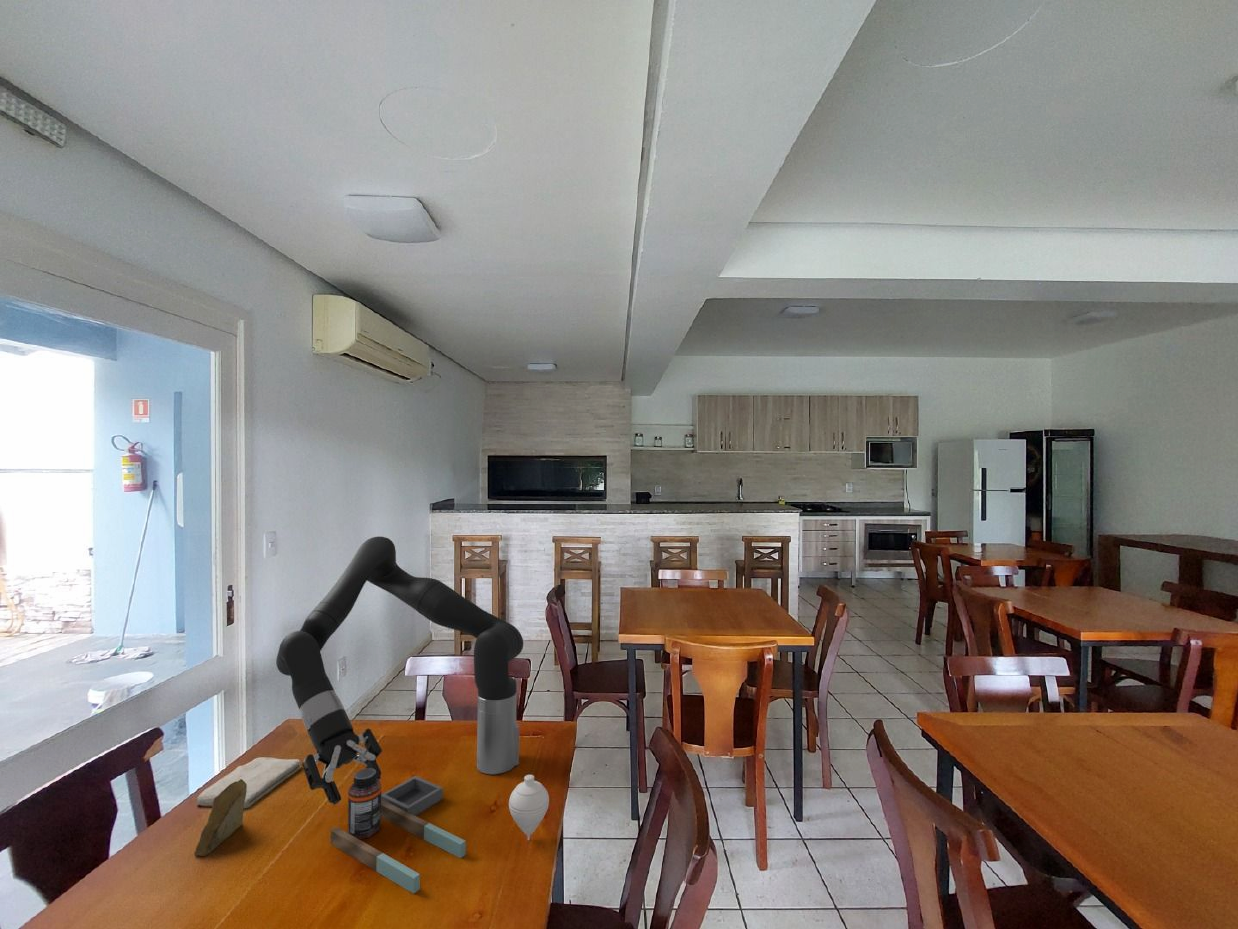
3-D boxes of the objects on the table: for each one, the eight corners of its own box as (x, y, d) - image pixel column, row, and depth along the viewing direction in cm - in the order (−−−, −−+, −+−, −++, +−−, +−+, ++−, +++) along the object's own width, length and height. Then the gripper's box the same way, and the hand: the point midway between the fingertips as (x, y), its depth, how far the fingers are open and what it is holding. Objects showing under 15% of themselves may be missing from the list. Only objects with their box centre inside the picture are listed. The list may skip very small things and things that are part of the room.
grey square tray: (379, 807, 117) (379, 795, 117) (415, 787, 124) (415, 776, 124) (407, 821, 112) (407, 808, 112) (442, 799, 120) (442, 787, 120)
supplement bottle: (354, 822, 111) (355, 765, 112) (385, 821, 112) (386, 764, 112) (342, 842, 106) (343, 781, 106) (374, 840, 106) (375, 780, 106)
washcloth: (304, 768, 133) (304, 755, 133) (247, 813, 115) (247, 797, 115) (257, 765, 134) (258, 752, 134) (194, 809, 116) (194, 794, 116)
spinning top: (555, 832, 109) (555, 770, 109) (537, 857, 102) (537, 790, 102) (520, 824, 111) (521, 763, 112) (500, 848, 104) (501, 783, 104)
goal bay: (376, 871, 98) (376, 857, 98) (428, 836, 107) (429, 823, 107) (413, 894, 92) (413, 878, 92) (465, 854, 102) (465, 841, 102)
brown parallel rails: (330, 843, 105) (330, 830, 105) (383, 813, 115) (383, 800, 115) (376, 871, 98) (376, 857, 98) (429, 836, 107) (429, 823, 107)
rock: (208, 852, 99) (264, 814, 108) (186, 809, 100) (243, 775, 109) (185, 871, 103) (241, 833, 112) (165, 829, 105) (222, 795, 114)
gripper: (349, 715, 124) (381, 783, 118) (283, 742, 111) (315, 819, 105) (364, 697, 121) (397, 765, 115) (298, 723, 109) (331, 800, 103)
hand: (358, 791), depth 110 cm, fingers open, 8 cm apart
